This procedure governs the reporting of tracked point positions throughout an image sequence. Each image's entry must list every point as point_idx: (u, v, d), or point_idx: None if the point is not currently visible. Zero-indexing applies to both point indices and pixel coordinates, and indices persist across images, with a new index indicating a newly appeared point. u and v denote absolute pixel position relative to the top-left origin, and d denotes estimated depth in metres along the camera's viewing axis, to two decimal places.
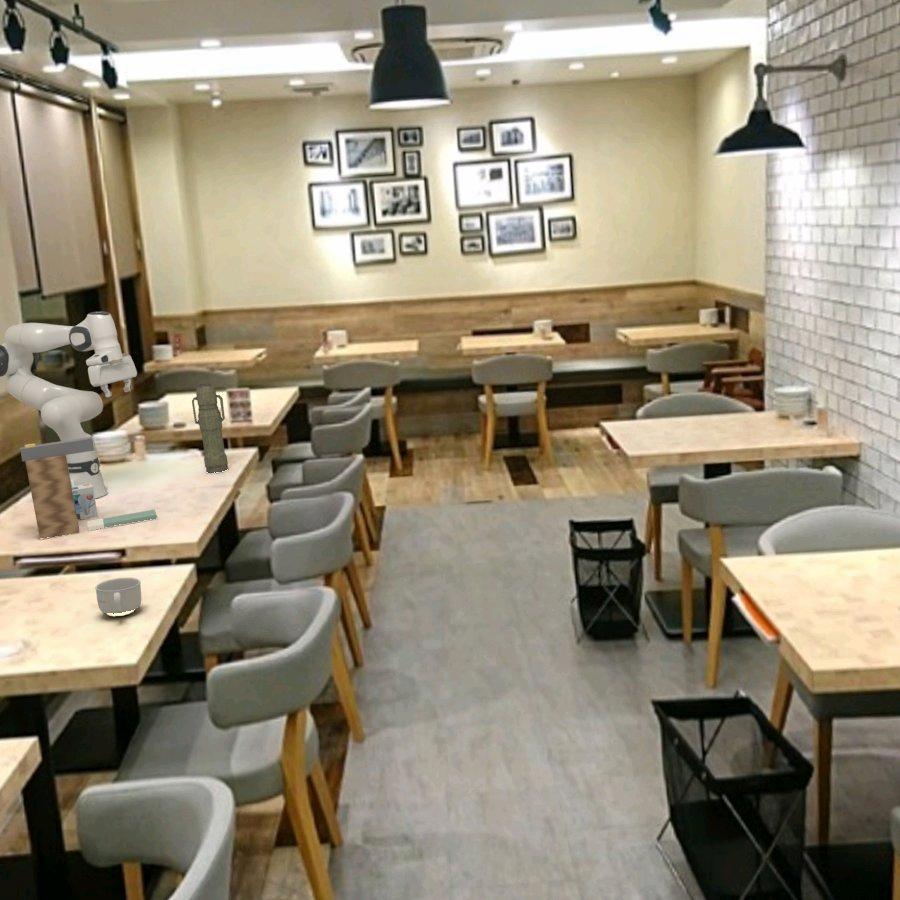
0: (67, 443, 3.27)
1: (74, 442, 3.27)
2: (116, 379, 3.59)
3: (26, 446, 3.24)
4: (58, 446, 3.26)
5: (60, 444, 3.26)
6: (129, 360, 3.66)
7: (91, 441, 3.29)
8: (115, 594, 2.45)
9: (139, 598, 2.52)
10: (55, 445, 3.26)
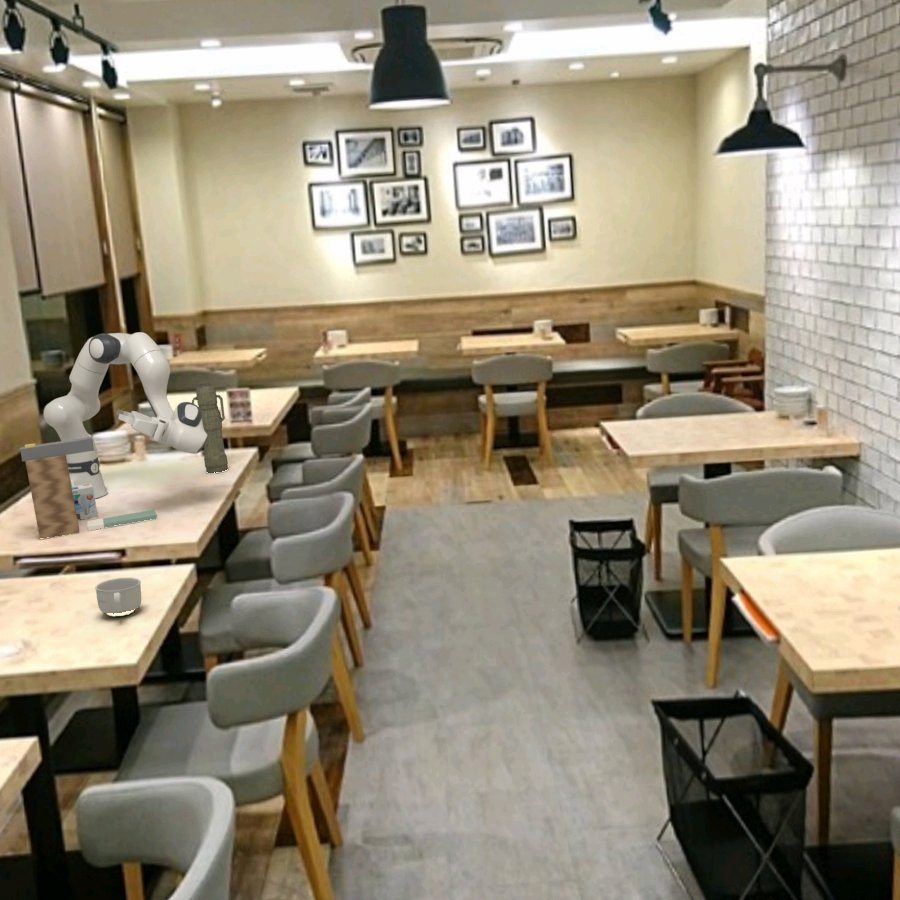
0: (67, 443, 3.27)
1: (74, 442, 3.27)
2: None
3: (26, 446, 3.24)
4: (58, 446, 3.26)
5: (60, 444, 3.26)
6: None
7: (91, 441, 3.29)
8: (115, 594, 2.45)
9: (139, 598, 2.52)
10: (55, 445, 3.26)
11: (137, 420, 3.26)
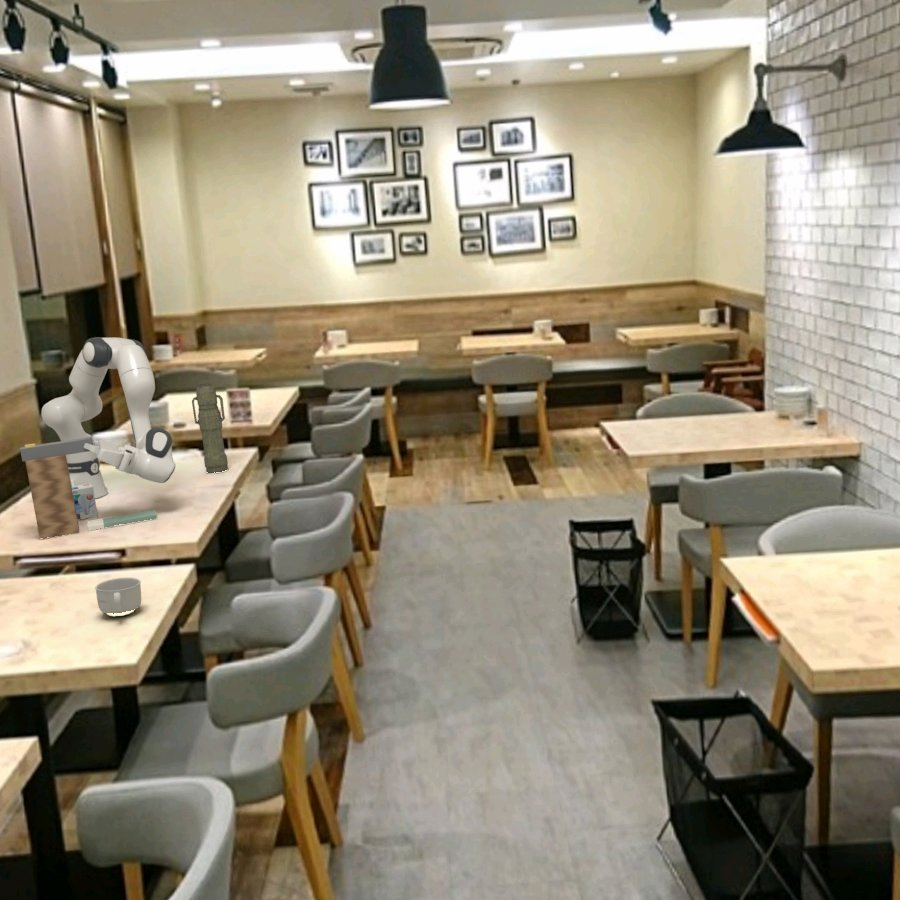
0: (67, 443, 3.27)
1: (74, 442, 3.27)
2: None
3: (26, 446, 3.24)
4: (58, 446, 3.26)
5: (60, 444, 3.26)
6: None
7: (91, 441, 3.29)
8: (115, 594, 2.45)
9: (139, 598, 2.52)
10: (55, 445, 3.26)
11: (102, 450, 3.23)
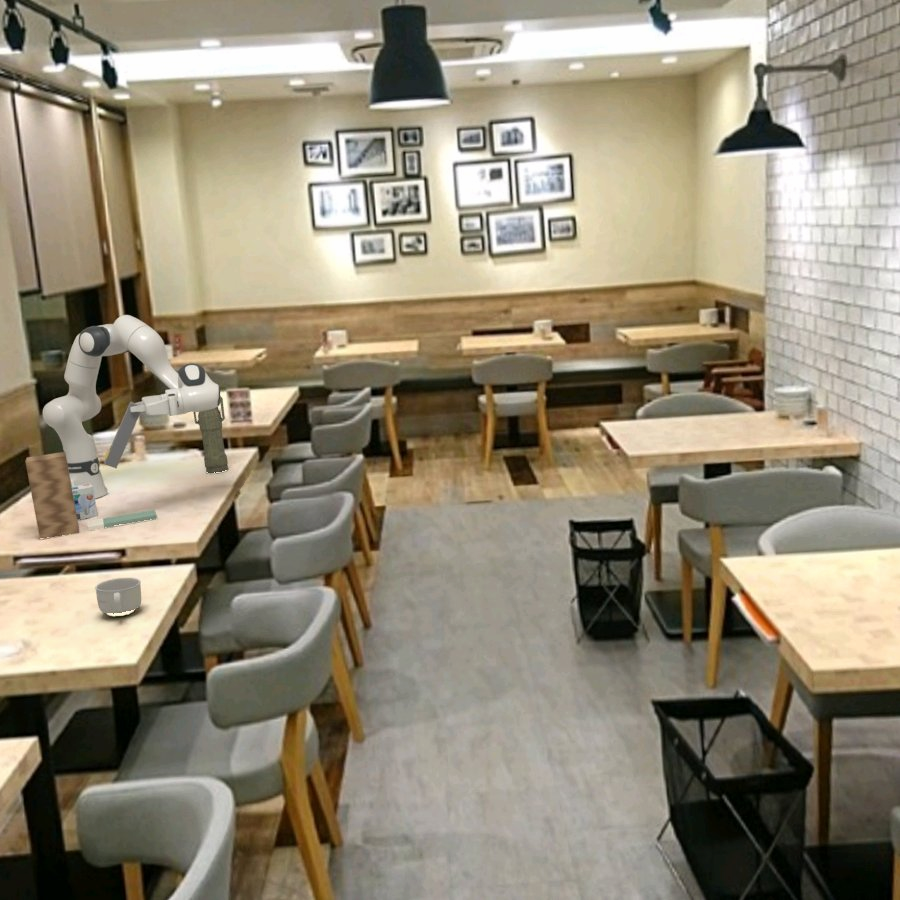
0: (122, 425, 3.32)
1: (125, 419, 3.32)
2: None
3: (105, 457, 3.33)
4: (120, 433, 3.32)
5: (120, 430, 3.32)
6: None
7: (133, 405, 3.32)
8: (115, 594, 2.45)
9: (139, 598, 2.52)
10: (118, 435, 3.32)
11: (148, 406, 3.26)
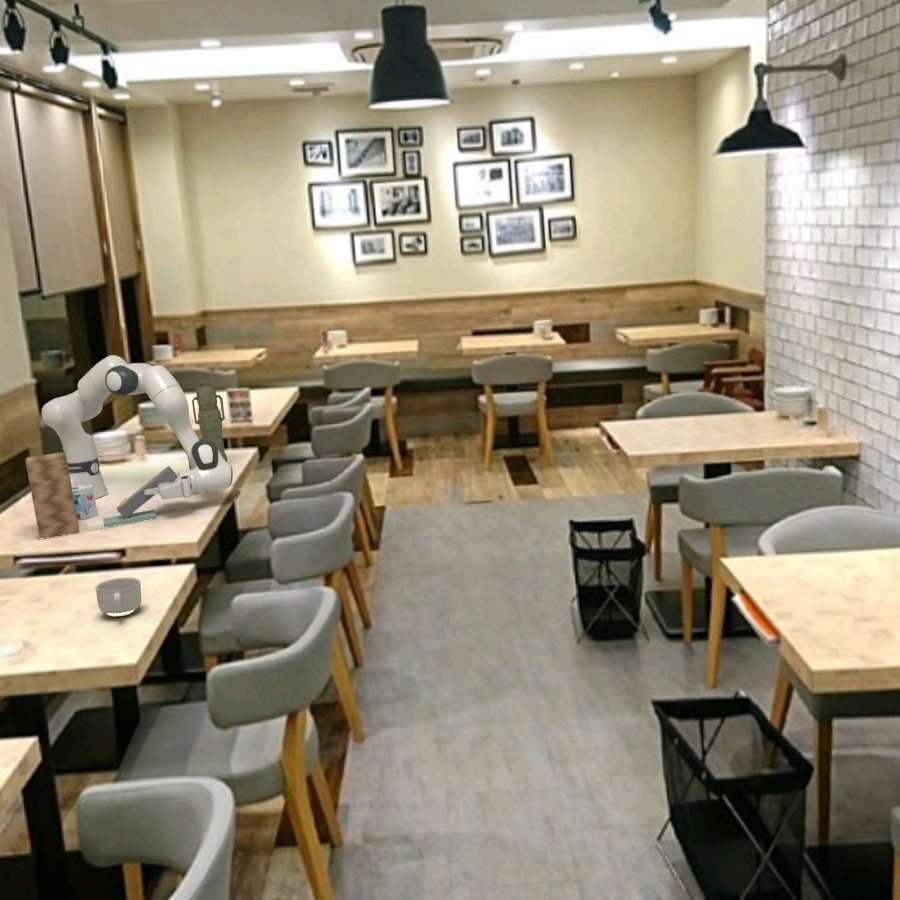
0: (152, 483, 3.38)
1: (157, 479, 3.39)
2: None
3: (120, 504, 3.37)
4: None
5: (147, 487, 3.38)
6: None
7: (170, 470, 3.40)
8: (115, 594, 2.45)
9: (139, 598, 2.52)
10: (143, 490, 3.38)
11: (162, 490, 3.32)
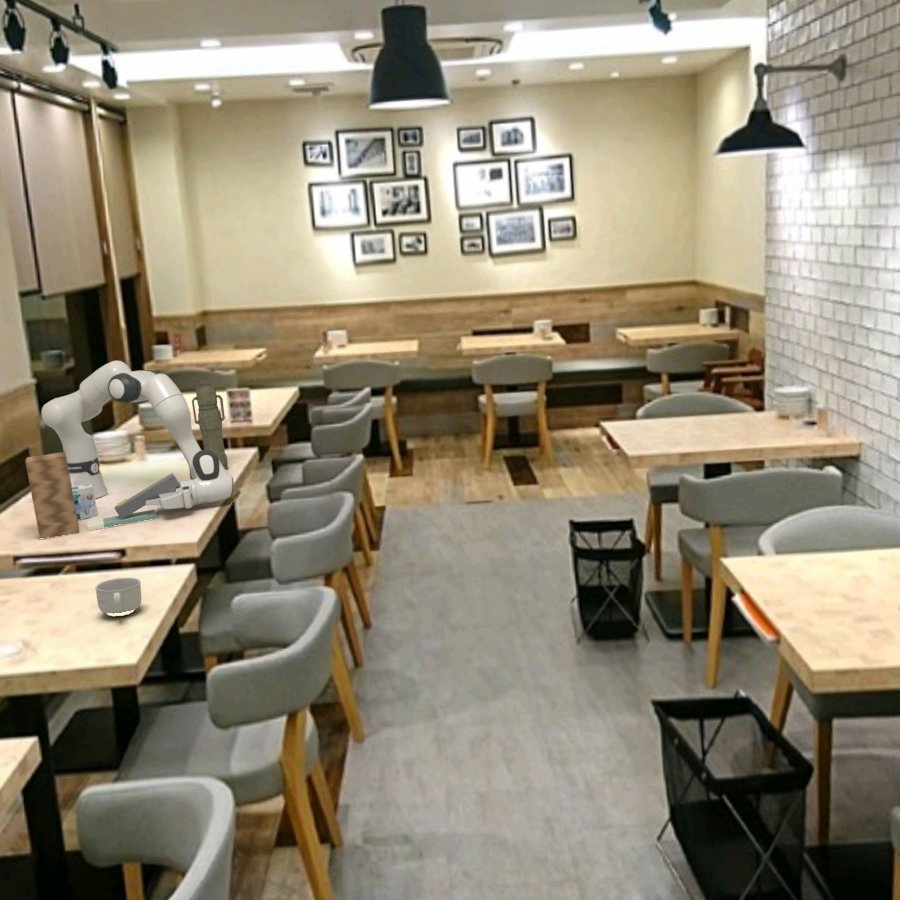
0: (153, 488, 3.39)
1: (159, 484, 3.39)
2: None
3: (119, 504, 3.37)
4: (147, 493, 3.38)
5: (148, 491, 3.38)
6: None
7: (174, 477, 3.41)
8: (115, 594, 2.45)
9: (139, 598, 2.52)
10: (144, 494, 3.38)
11: (163, 500, 3.33)
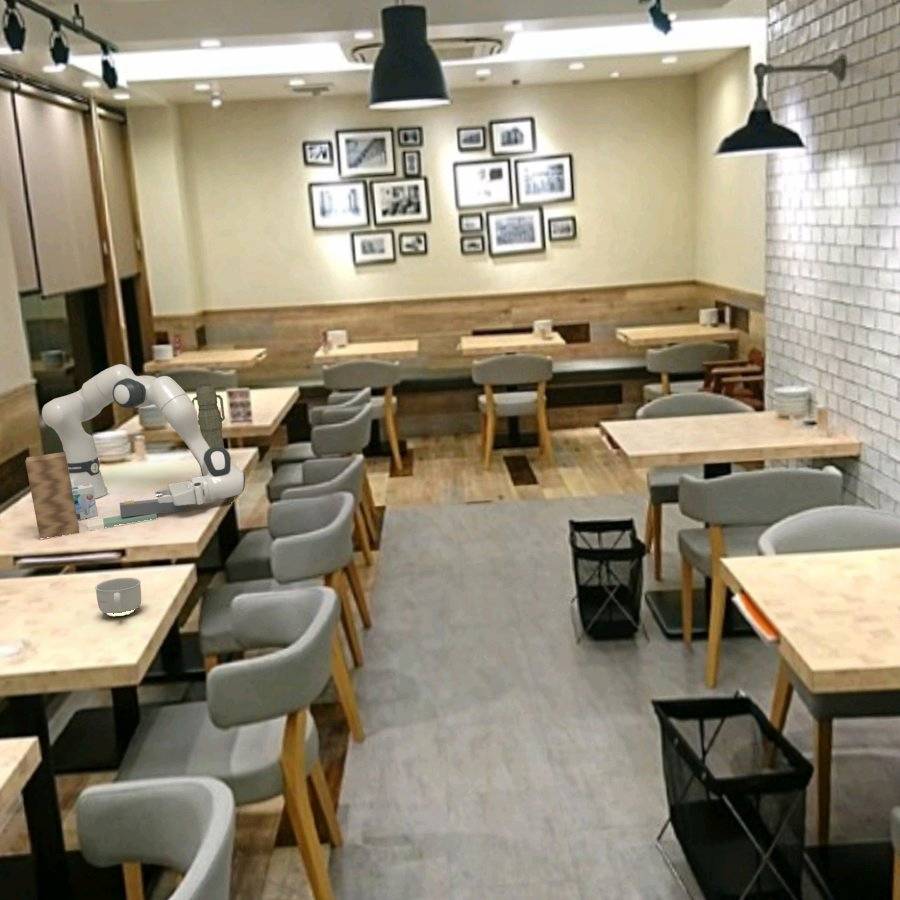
0: (164, 502, 3.41)
1: None
2: None
3: (125, 502, 3.38)
4: (155, 504, 3.40)
5: (157, 502, 3.40)
6: None
7: None
8: (115, 594, 2.45)
9: (139, 598, 2.52)
10: (153, 503, 3.40)
11: (175, 496, 3.34)
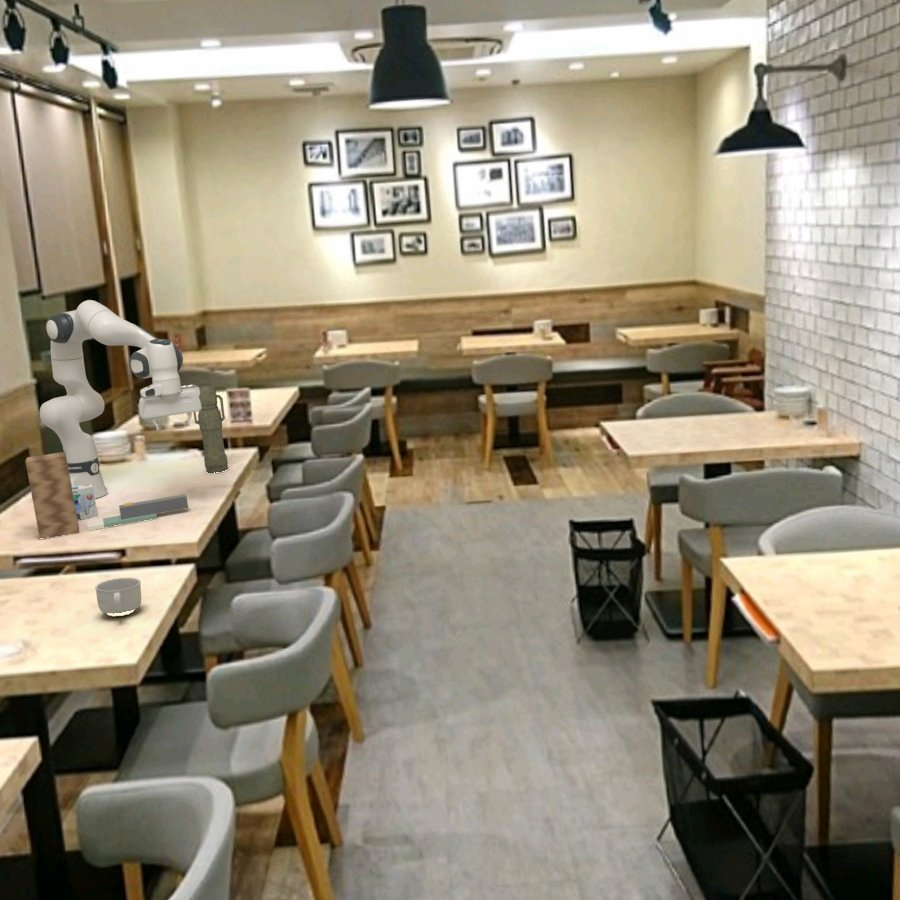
0: (163, 501, 3.41)
1: (170, 500, 3.41)
2: (168, 413, 3.37)
3: (125, 505, 3.38)
4: (155, 504, 3.40)
5: (157, 502, 3.40)
6: (192, 394, 3.38)
7: (185, 499, 3.43)
8: (115, 594, 2.45)
9: (139, 598, 2.52)
10: (152, 503, 3.40)
11: None
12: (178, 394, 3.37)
